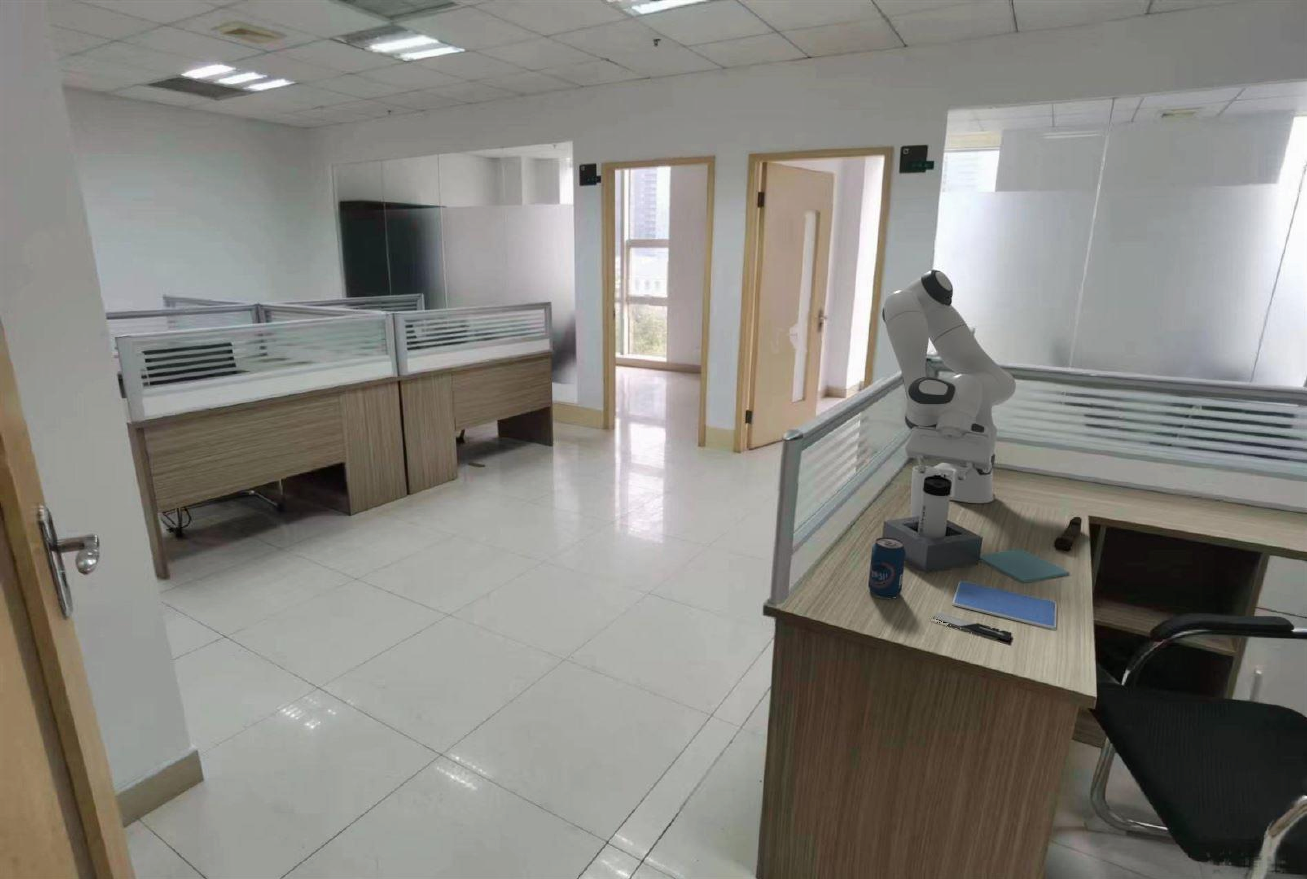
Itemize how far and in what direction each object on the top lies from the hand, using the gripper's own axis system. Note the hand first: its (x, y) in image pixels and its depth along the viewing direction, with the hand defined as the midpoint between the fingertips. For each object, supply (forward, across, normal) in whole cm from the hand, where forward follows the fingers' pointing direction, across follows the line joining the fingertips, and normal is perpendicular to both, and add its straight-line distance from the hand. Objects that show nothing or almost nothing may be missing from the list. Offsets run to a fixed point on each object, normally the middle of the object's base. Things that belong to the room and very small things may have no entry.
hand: (940, 475), depth 171 cm
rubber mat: (+14, +21, +12) cm, 28 cm away
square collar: (+18, +1, +8) cm, 20 cm away
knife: (+41, +16, -14) cm, 46 cm away
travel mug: (+19, +1, +8) cm, 20 cm away
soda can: (+37, -2, -11) cm, 39 cm away
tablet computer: (+31, +20, -4) cm, 37 cm away
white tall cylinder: (+2, -7, +24) cm, 25 cm away
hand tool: (-4, +28, +30) cm, 42 cm away
